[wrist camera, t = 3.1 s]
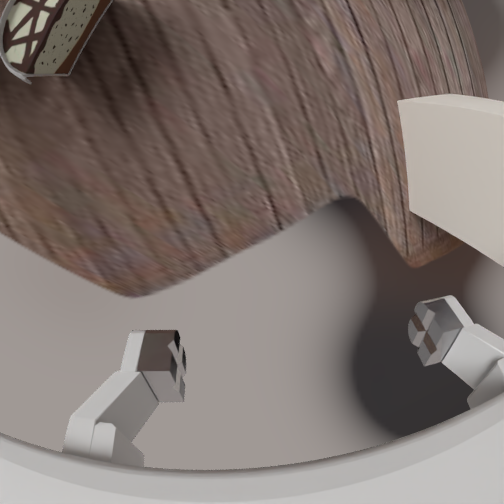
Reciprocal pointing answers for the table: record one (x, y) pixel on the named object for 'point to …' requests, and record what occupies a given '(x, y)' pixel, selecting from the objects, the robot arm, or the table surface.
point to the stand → (457, 166)
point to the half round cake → (47, 34)
